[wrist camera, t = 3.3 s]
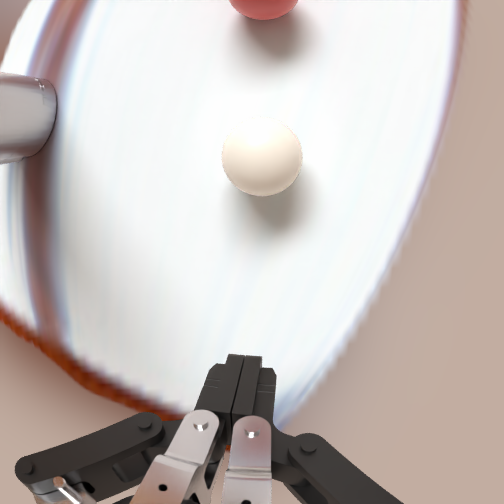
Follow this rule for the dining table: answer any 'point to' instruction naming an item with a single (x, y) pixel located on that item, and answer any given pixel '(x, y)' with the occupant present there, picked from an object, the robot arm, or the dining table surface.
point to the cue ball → (262, 156)
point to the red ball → (263, 8)
